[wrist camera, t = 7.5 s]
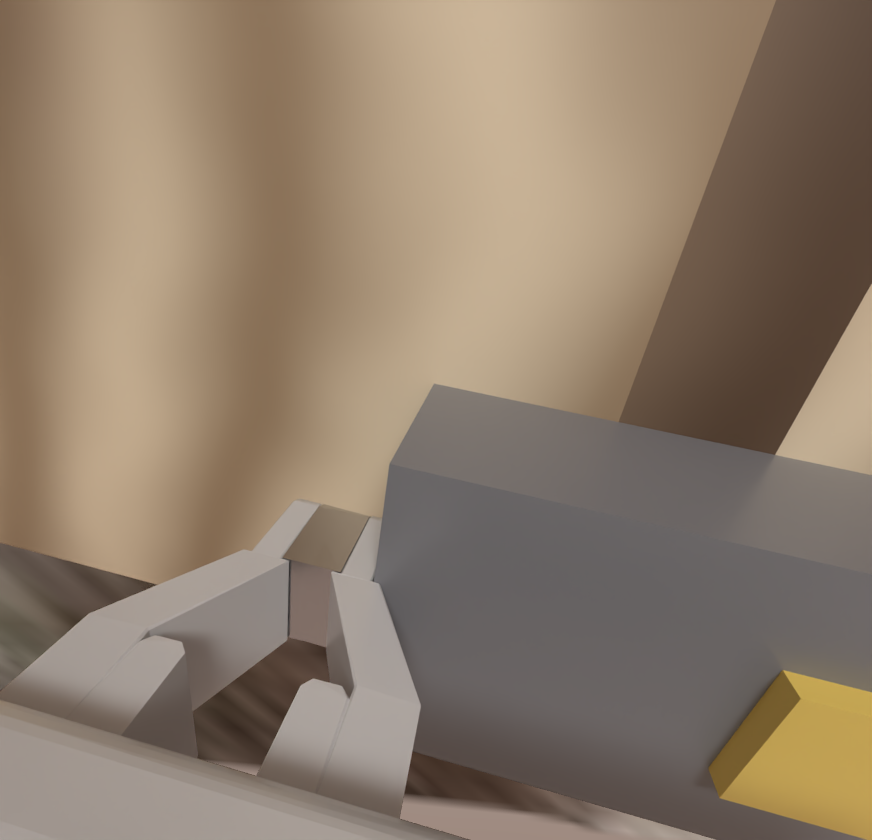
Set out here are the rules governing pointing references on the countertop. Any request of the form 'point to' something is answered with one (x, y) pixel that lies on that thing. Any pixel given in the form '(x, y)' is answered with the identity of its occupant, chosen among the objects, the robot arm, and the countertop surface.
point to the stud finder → (635, 617)
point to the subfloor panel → (411, 244)
